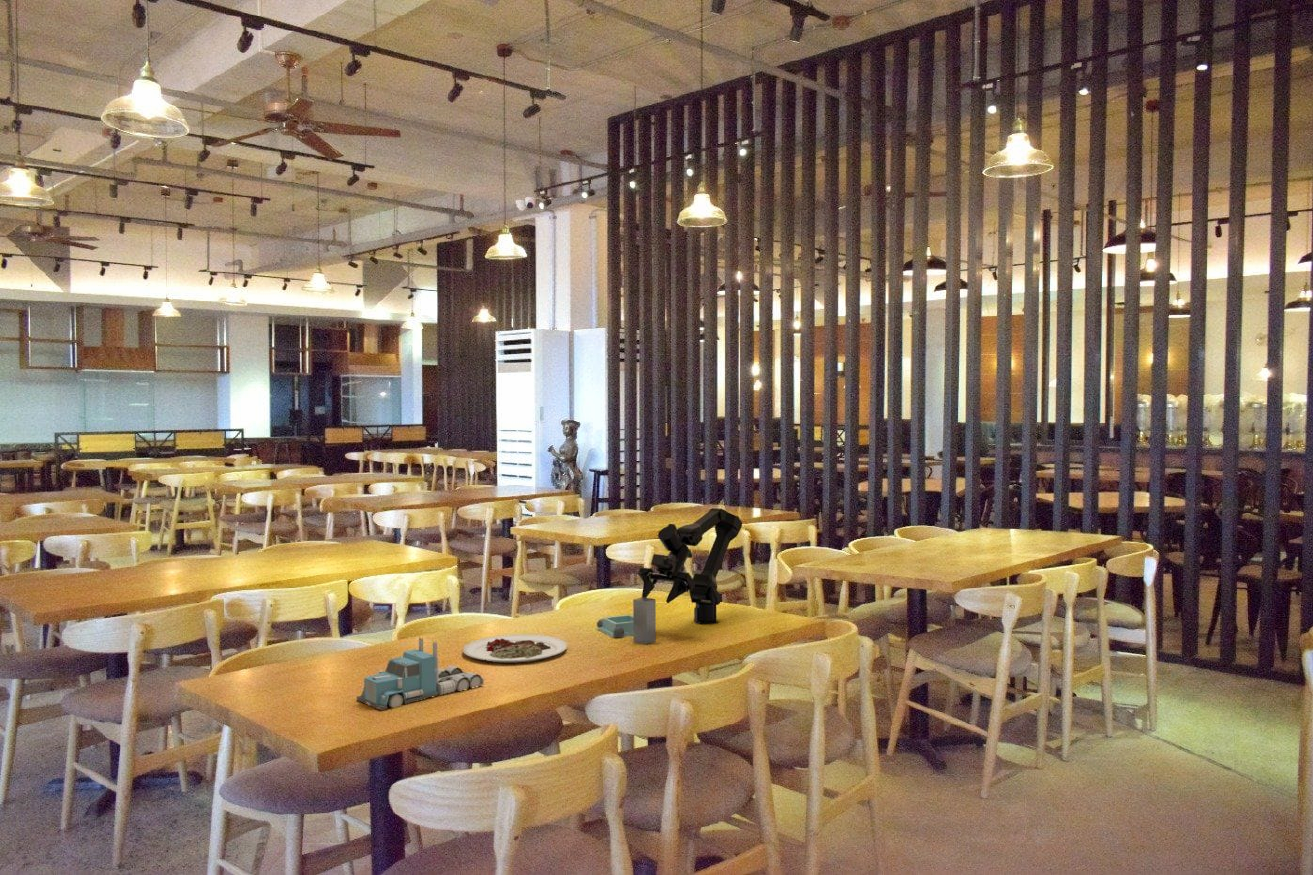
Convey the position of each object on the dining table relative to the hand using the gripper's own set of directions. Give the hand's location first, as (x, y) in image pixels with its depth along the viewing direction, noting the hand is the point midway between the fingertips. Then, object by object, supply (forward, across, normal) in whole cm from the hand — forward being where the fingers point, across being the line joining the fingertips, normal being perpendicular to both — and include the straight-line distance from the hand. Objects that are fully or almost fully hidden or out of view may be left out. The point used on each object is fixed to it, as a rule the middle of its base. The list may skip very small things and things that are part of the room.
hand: (654, 600), depth 294 cm
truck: (+65, -14, -47) cm, 81 cm away
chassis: (+7, -14, +9) cm, 18 cm away
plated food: (+35, -24, -17) cm, 45 cm away
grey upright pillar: (+12, 0, +5) cm, 13 cm away
